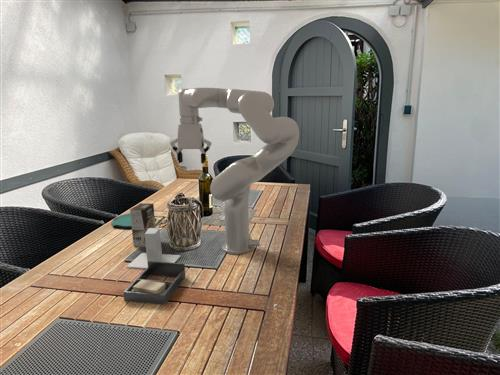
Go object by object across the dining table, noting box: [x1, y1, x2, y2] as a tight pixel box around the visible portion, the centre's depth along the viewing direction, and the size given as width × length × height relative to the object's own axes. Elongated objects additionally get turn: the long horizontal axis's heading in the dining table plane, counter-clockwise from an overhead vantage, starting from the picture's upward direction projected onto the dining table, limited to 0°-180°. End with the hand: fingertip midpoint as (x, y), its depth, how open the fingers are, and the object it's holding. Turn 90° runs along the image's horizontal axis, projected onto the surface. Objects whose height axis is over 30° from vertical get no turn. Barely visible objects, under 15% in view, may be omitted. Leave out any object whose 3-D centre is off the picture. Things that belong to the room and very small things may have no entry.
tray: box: [122, 261, 186, 306], centre depth 118 cm, size 13×17×5 cm
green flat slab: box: [110, 212, 168, 228], centre depth 181 cm, size 20×30×2 cm, turn 84°
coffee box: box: [129, 203, 156, 248], centre depth 154 cm, size 9×6×16 cm
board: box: [126, 252, 181, 270], centre depth 137 cm, size 16×12×1 cm
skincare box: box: [145, 227, 163, 262], centre depth 136 cm, size 6×4×12 cm
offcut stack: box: [132, 279, 166, 294], centre depth 114 cm, size 10×5×4 cm, turn 72°
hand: (191, 162), depth 151 cm, fingers open, 9 cm apart
